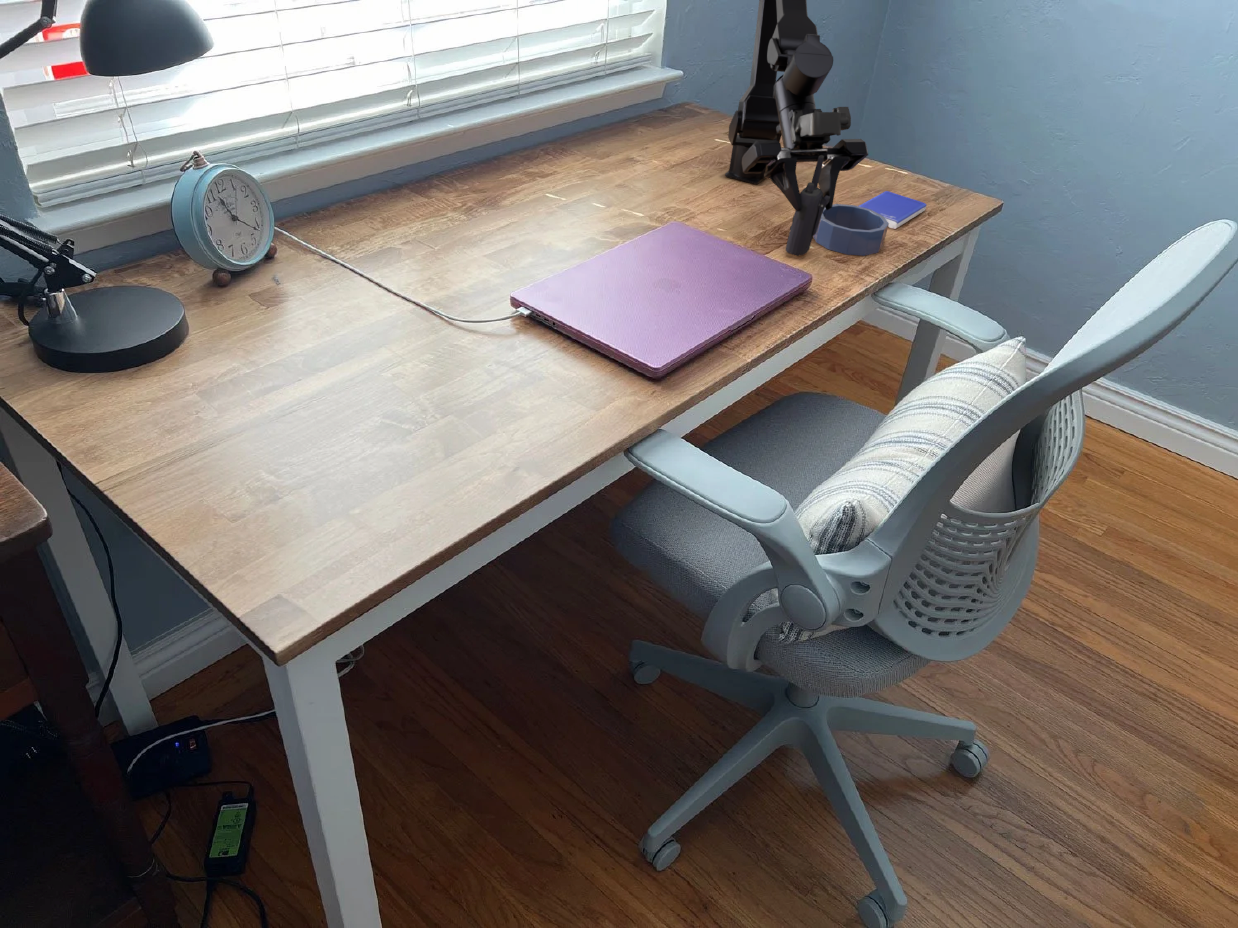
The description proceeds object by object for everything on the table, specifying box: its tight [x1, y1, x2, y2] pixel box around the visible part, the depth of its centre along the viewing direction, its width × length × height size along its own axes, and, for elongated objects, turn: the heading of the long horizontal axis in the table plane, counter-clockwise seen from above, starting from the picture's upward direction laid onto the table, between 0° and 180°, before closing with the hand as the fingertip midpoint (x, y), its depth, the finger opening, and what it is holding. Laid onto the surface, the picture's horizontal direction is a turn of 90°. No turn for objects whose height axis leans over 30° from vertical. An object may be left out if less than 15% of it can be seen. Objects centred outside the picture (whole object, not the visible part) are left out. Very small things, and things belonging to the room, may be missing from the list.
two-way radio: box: [785, 155, 830, 257], centre depth 145 cm, size 6×4×15 cm
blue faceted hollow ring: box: [813, 203, 889, 257], centre depth 155 cm, size 11×11×4 cm
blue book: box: [858, 190, 928, 230], centre depth 167 cm, size 2×8×12 cm
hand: (814, 209), depth 144 cm, fingers closed on two-way radio, 5 cm apart
